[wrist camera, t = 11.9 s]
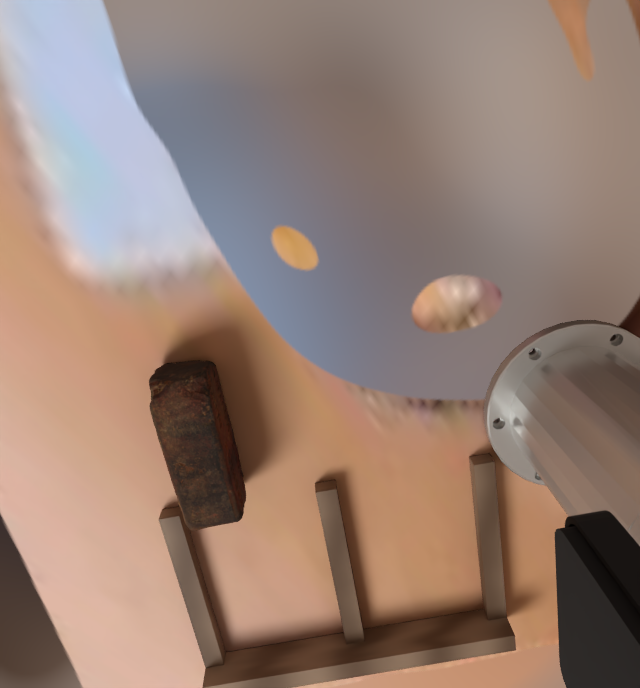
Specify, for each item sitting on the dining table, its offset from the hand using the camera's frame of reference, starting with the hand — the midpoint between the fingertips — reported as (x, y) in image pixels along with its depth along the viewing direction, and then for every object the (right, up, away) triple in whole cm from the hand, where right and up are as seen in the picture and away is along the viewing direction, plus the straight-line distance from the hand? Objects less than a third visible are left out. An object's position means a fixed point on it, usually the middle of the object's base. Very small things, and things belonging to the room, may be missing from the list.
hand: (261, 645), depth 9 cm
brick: (-7, -1, +33) cm, 34 cm away
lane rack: (+3, -13, +37) cm, 39 cm away
